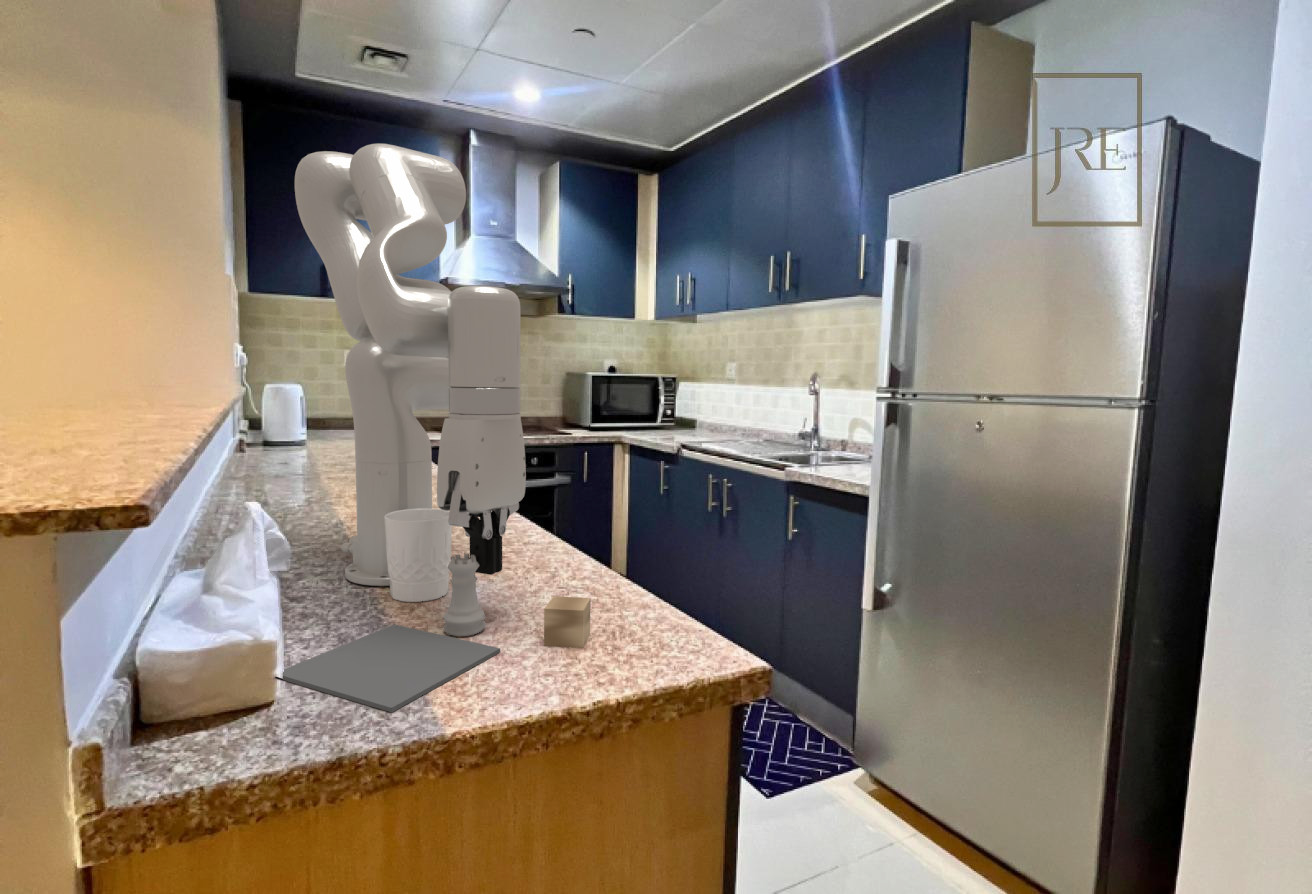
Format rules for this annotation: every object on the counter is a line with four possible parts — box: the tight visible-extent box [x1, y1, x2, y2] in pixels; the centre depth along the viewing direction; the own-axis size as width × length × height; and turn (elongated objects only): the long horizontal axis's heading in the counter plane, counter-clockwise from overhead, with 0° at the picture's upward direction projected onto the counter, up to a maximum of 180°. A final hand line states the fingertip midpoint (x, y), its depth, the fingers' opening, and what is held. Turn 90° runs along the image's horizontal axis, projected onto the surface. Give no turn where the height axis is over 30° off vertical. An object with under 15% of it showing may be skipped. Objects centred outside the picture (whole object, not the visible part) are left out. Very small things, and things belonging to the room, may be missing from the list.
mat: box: [282, 623, 501, 713], centre depth 65 cm, size 14×14×1 cm
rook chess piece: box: [442, 553, 487, 637], centre depth 74 cm, size 4×4×8 cm
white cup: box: [384, 508, 453, 603], centre depth 86 cm, size 8×8×10 cm
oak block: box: [543, 596, 591, 649], centre depth 72 cm, size 4×4×4 cm
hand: (486, 571), depth 77 cm, fingers closed
